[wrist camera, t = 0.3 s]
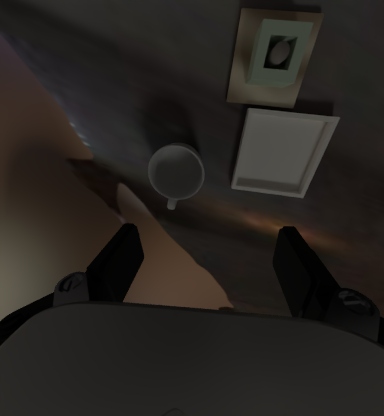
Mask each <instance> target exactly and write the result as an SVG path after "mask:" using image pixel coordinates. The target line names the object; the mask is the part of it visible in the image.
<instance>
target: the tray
mask: <svg viewBox="0 0 384 416" xmlns="http://www.w3.org/2000/svg"><path fill="white" fill-rule="evenodd" d="M339 119H340V117H331V116H321V115H312V114H302V113H293V112H283V111H274V110H264V109H255V108H248V109H247V114H246V118H245V123H244V127H243V132H242V136H241V141H240V145H239V150H238V154H237V159H236V163H235V168H234V172H233V177H232V182H231V188H232V189H240V190H247V191H254V192H262V193H269V194H277V195H284V196H292V197H299V198H303V197H304V195H305V193H306V191H307V188H308V186H309V184H310V182H311V180H312V178H313V175H314V173H315V171H316V169H317V167H318V164H319V162H320V160H321V158H322V156H323V154H324V151H325V149H326V147H327V145H328V143H329V141H330V138H331V136H332V134H333V132H334V130H335V128H336V125H337V123H338V121H339Z"/></svg>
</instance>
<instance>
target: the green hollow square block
mask: <svg viewBox="0 0 384 416" xmlns="http://www.w3.org/2000/svg"><path fill="white" fill-rule="evenodd" d="M312 26H313V23H312V22H299V21H285V20H272V19H263V21H262V23H261V25H260V27H259V29H258V31H257V33H256V36H255V41H254V46H253V51H252V55H251V60H250V65H249V70H248V75H247V80H246V84H247V85H257V86H267V87H278V88H284V87H286V86H289V85H291V84H294V83H295V80H296V77H297V73H298V70H299V67H300V64H301V61H302V58H303V55H304V51H305V48H306V45H307V42H308V39H309V36H310V32H311V29H312ZM281 41H286V42H287V43H288V44H289V46H290V51H289V54H288V56H287V58H286V59H285V60H284V61H282V62H281V65H280V69H268V68H263V66H264V62H265V57H266V53H267V49H268V48H274V47H275V46H276V44H277V43H279V42H281Z"/></svg>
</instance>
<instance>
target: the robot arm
mask: <svg viewBox="0 0 384 416" xmlns="http://www.w3.org/2000/svg"><path fill="white" fill-rule="evenodd" d="M143 259H144V253H143V249H142V245H141V241H140V237H139V233H138V229H137V226H135V225H134V224H130V223H125V224H124V225H123V226H122V227H121V228H120V230H119V231H118V232H117V233H116V234H115V235H114V237H113V238H112V239H111V240H110V241H109V242H108V244H107V245H106V246H105V247H104V248H103V250H102V251H101V252H100V253H99V254H98V255H97V257H96V258H95V259H94V260H93V261H92V262H91V264H90V265H89V266H88V267H87V271H86V272H85V273H84V272H75V273H71V274H69V275H67V276H66V277H64V278H63V279H62V280H60V281H59V282H58V283H57V285H56V287H55V290H54V292H53V293H51V294H49V295H47V296H45V297H43V298H41V299H39V300H37V301H35V302H33V303H31V304H29V305H26V306H25V307H22V308H20V309H18V310H16V311H14V312H12V313H11V314H9V315H8V316H6V317H5V318H4V319H2V320H1V321H0V416H384V318H382V317H380V311H379V309H378V307H377V306H376V305H375V303H374V302H373V301H372V300H370V299H369V298H368V297H367V296H365V295H363V294H362V293H360V292H358V291H355V290H353V289H349V288H341V287H340V286H339V285H338V283H337V282H336V281H335V279H334V278H333V277H332V275H331V274H330V272H329V271H328V270H327V268H326V267H325V266H324V264H323V263H322V262H321V260H320V259H319V257H318V256H317V255H316V253H315V252H314V251H313V250H312V249H310V247H309V246H308V244H307V243H306V242H305V240H304V239H303V237H302V236H301V235H300V233H299V232H298V231H297V229H296V228H295V227H294V226H284V227H283V228H282V229H280V230H279V234H278V239H277V243H276V248H275V252H274V257H273V267H274V270H275V272H276V275H277V278H278V280H279V283H280V285H281V288H282V290H283V293H284V296H285V298H286V301H287V303H288V306H289V309H290V311H291V314H292V316H293V317H287V316H278V315H268V314H257V313H246V312H235V311H224V310H212V309H201V308H189V307H176V306H165V305H164V306H163V305H152V304H139V303H125V302H123V300H124V298H125V296H126V294H127V292H128V290H129V288H130V286H131V284H132V282H133V280H134V278H135V276H136V274H137V272H138V270H139V268H140V266H141V264H142V262H143Z"/></svg>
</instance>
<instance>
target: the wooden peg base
mask: <svg viewBox="0 0 384 416" xmlns="http://www.w3.org/2000/svg"><path fill="white" fill-rule="evenodd" d="M323 17H324V14H322V13H308V12H294V11H280V10H266V9H252V8H242V10H241V16H240V22H239V28H238V34H237V40H236V46H235V52H234V58H233V64H232V70H231V76H230V82H229V88H228V95H227V101H226V102H233V103H243V104H252V105H262V106H271V107H281V108H293V107H294V104H295V101H296V98H297V95H298V92H299V89H300V86H301V83H302V80H303V77H304V74H305V71H306V68H307V65H308V62H309V59H310V56H311V53H312V50H313V47H314V44H315V41H316V38H317V35H318V32H319V29H320V26H321V23H322V20H323ZM263 19H272V20H285V21H299V22H312V23H313V26H312V29H311V32H310V36H309V39H308V42H307V45H306V48H305V51H304V55H303V58H302V61H301V64H300V67H299V70H298V73H297V77H296V80H295V83H294V84H291V85H289V86H286V87H284V88H278V87H267V86H257V85H247V84H246V80H247V75H248V70H249V65H250V60H251V55H252V51H253V46H254V41H255V36H256V33H257V31H258V29H259V27H260V25H261V23H262V21H263ZM289 51H290V46H289V44H288V43H287V42H286V41H281V42H279V43H277V44H276V46H275V47H274V48H268V49H267V53H266V57H265V62H264V66H263V68H268V69H280V65H281V62H282V61H284V60H285V59H286V58H287V56H288V54H289Z"/></svg>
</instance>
